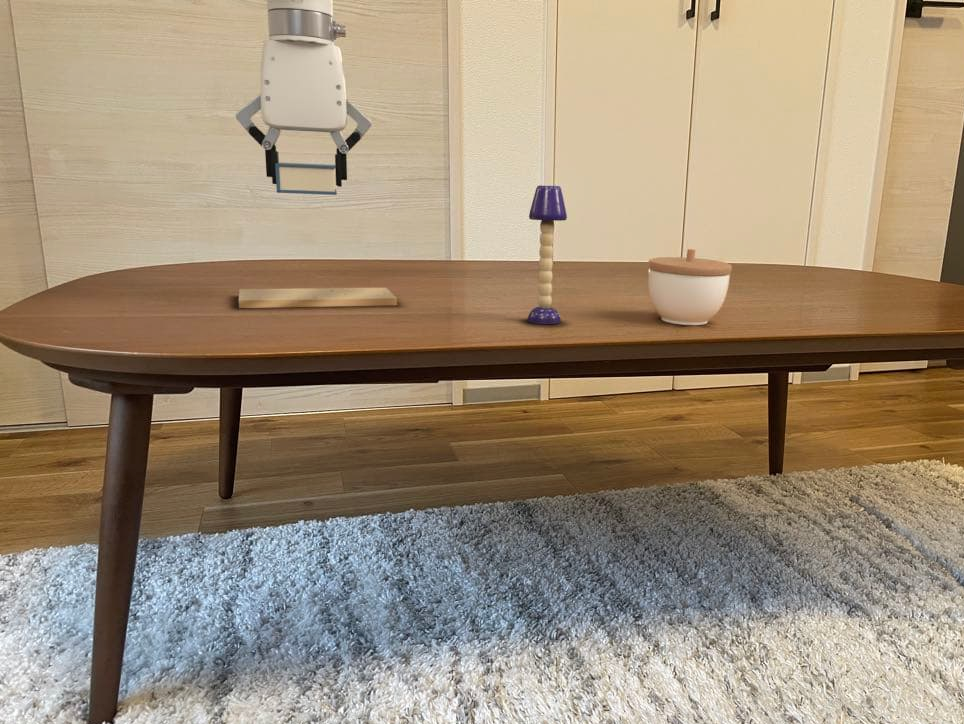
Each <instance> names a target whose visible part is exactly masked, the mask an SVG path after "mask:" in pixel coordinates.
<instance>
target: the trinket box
mask: <svg viewBox="0 0 964 724" xmlns="http://www.w3.org/2000/svg"><path fill="white" fill-rule="evenodd" d="M647 266H648V267H647V268H648V278H647V279H648V280H647V285H648V287H647V288H648V296H649V300H650V303H651V305H652V308H653V309H654V311H656V312H657V314H658V315H659V316H660V317H661V318H660V319H661V321H663V322H665V323H669V324H674V325H681V326H702V325H707V324H708V322H709V320H710V319H712V318H713V317H714V316H715V315H716V314H717V313H718V312H719V311H720V310H721V308H722V306H723V305H724V303H725V300H726V297H727V294H728V290H729V286H730V279H731V273H732V270H733V266H732V264H730V263H728V262H725V261H720V260H716V259H706V258H697V257H696V249H694V248H693V249H692V248H687V250H686V257H681V256H680V257H677V256H675V257H674V256H665V257H664V256H662V257H654V258H650V259H649V260H648V265H647Z"/></svg>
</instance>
